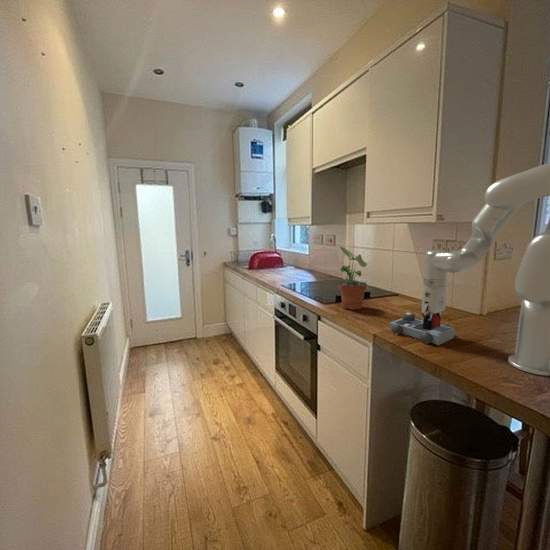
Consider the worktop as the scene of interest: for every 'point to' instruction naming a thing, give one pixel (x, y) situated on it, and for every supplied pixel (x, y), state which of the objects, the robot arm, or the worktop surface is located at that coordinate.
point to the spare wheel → (408, 316)
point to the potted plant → (352, 284)
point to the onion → (435, 321)
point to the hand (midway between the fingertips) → (431, 327)
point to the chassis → (423, 331)
